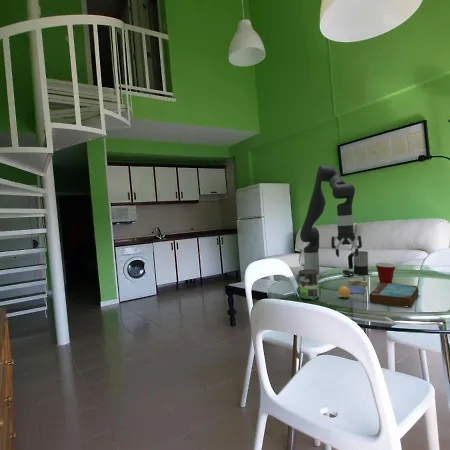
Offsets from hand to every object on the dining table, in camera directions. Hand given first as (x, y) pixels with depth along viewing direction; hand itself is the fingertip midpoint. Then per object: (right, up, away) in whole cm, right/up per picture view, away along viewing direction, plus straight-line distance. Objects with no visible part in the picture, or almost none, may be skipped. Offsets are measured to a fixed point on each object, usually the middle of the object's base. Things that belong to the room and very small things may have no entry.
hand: (347, 256), depth 163 cm
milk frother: (+25, -17, +50) cm, 58 cm away
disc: (+10, -20, +18) cm, 29 cm away
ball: (+1, -19, +5) cm, 20 cm away
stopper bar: (+16, -19, +26) cm, 36 cm away
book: (+23, -22, -1) cm, 32 cm away
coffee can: (-16, -23, +10) cm, 30 cm away
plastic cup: (+32, -19, +24) cm, 44 cm away
